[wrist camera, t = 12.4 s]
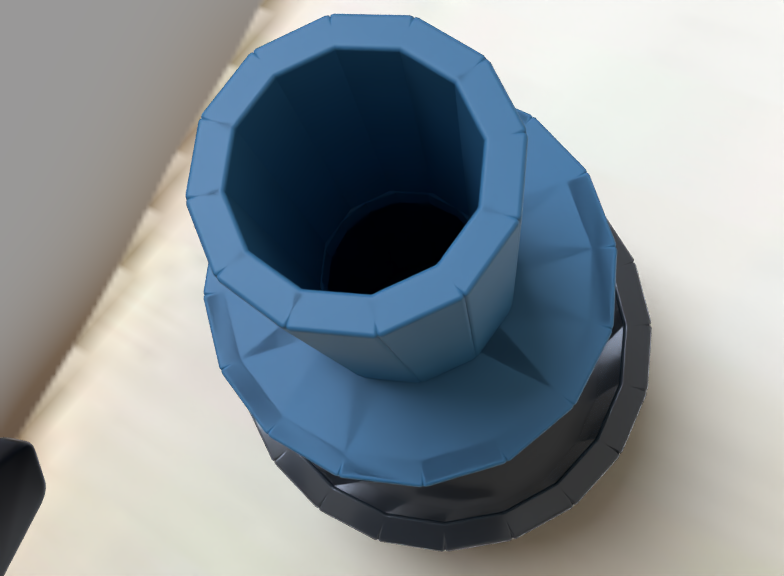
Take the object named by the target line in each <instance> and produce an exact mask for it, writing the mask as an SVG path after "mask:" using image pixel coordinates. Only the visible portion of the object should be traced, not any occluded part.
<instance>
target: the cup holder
mask: <svg viewBox="0 0 784 576" xmlns="http://www.w3.org/2000/svg"><path fill="white" fill-rule="evenodd" d="M606 219H607V218H606ZM607 221H608V220H607ZM608 224H609V227H610V229H611V232H612V234H613V237H614V240H615V242H616V249H617V263H616V284H615V305H614V326H613V328H612V329H611V330H612V333H611V335H610V337H609V339H608V341H607V343H606V345H605V347H604V349H603V351H602V353H601V355H600V357H599V359H598V361H597V363H596V365H595V367H594V369H593V371H592V373H591V375H590V377H589V379H588V381H587V383H586V385H585V387H584V389H583V391H582V393H581V395H580V397H579V399H578V401H577V403H576V404H575V405H574V406H573V408H572V409H571V410H570V411H569V412H568V413H567V414H565V415H564V416H563V417H562V418H561V419H559V420H558V421H557V422H556V423H555V424H553V425H552V426H551V427H550V428H549V429H547V430H546V431H545V432H544V433H543V434H541V435H540V436H539V437H538V438H537V439H535V440H534V441H533V442H532V443H531V444H529V445H528V446H527V447H526V448H525V449H523V450H522V451H521V452H520V453H519V454H517V455H516V456H515V457H514V458H513V459H511V460H510V461H506V463H504V464H502V465H498V466H495V467H492V468H488V469H485V470H481V471H478V472H475V473H471V474H468V475H465V476H461V477H458V478H455V479H451V480H448V481H444V482H441V483H438V484H434V485H431V486H428V487H426V486H422V487H414V486H405V485H397V484H389V483H380V482H372V481H364V480H355V479H347V478H341V477H340V476H335V475H333V474H332V473H330V472H328V471H326V470H325V469H323V468H321V467H320V466H318V465H316V464H315V463H313V462H311V461H309V460H308V459H306V458H304V457H303V456H301V455H299V454H298V453H296V452H294V451H292V450H291V449H289V448H287V447H286V446H284V445H282V444H281V443H279V442H277V441H275V440H274V439H272V438H270V437H269V435H268V434H266V433H265V432H264V431H263V429H262V428H261V427H260V425H259V424H258V422H257V421H256V420H255V418H254V417H253V415H252V414H251V413H250V414H251V416H252V418H253V420H254V423H255V425H256V427H257V429H258V431H259V433H260V435H261V437H262V440H263V442H264V444H265V446H266V448H267V450H268V452H269V455H270V457H271V459H272V460H273V461H275V464H276V465H277V467H278V468H279V469H280V470H281V471H282V472H283V473H284V474H285V475H286V476H287V477H288V478H289V479H290V480H291V481H292V482H293V483H294V485H295V486H296V487H297V488H298V489H299V490H300V491H301V492H302V493H303V494H304V495H305V496H306V497H307V498H308V499H309V500H310V501H311V503H312V504H313V505H314V506H315V507H317V508H319V510H320V511H322V512H324V513H325V514H327V515H329V516H331V517H333V518H335V519H337V520H339V521H340V522H342V523H344V524H346V525H348V526H350V527H352V528H354V529H355V530H357V531H359V532H361V533H363V534H365V535H367V536H369V537H370V538H372V539H374V540H379V541H380V542H386V543H392V544H398V545H404V546H410V547H416V548H423V549H429V550H435V551H441V552H442V551H445V550H446V551H454V550H460V549H466V548H472V547H478V546H483V545H489V544H495V543H501V542H507V541H511V540H512V538H513V539H517V538H519V537H521V536H522V535H524V534H526V533H528V532H530V531H531V530H533V529H535V528H537V527H539V526H541V525H542V524H544V523H546V522H548V521H550V520H551V519H553V518H555V517H557V516H559V515H560V514H562V513H564V512H566V511H568V510H570V509H571V508H572V507H573V505H576V504H578V502H579V501H580V500H581V499H582V498H583V497H584V496H585V495H586V494H587V492H588V491H589V490H590V489H591V488H592V487H593V486H594V485H595V484H596V482H597V481H598V480H599V479H600V478H601V477H602V476H603V475H604V474H605V472H606V471H607V470H608V469H609V468H610V467H611V466H612V465H613V464H614V462H615V461H616V460H617V459H618V458H619V454H621V453H622V452H623V449H624V447H625V445H626V442H627V440H628V437H629V435H630V433H631V430H632V428H633V425H634V423H635V421H636V418H637V416H638V414H639V411H640V409H641V406H642V404H643V402H644V399H645V397H646V392H645V391H647V389H648V378H649V363H650V348H651V332H652V328H651V326H650V324H651V320H650V316H649V312H648V308H647V305H646V301H645V297H644V294H643V290H642V286H641V283H640V279H639V275H638V271H637V268H636V264H635V263H633V262H634V259H633V257H632V256H631V254H630V253H629V251H628V250H627V248H626V247H625V245H624V244H623V242H622V241H621V239H620V238H619V236H618V235H617V233H616V232H615V230H614V229H613V227H612V226H611V224H610V223H609V221H608ZM249 412H250V411H249Z"/></svg>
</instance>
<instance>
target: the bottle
mask: <svg viewBox="0 0 784 576" xmlns="http://www.w3.org/2000/svg"><path fill="white" fill-rule="evenodd" d="M201 118H202V119H200V120H199V122H198V128H197V134H196V139H195V145H194V150H193V156H192V162H191V167H190V173H189V179H188V184H187V190H186V199H187V201H186V205H187V208H188V210H189V213H190V216H191V218H192V221H193V223H194V226H195V229H196V231H197V234H198V236H199V239H200V242H201V244H202V247H203V250H204V252H205V255H206V257H207V260H208V269H207V275H206V281H205V287H204V295H205V296H204V302H205V306H206V310H207V315H208V319H209V324H210V328H211V333H212V337H213V341H214V346H215V350H216V355H217V359H218V363H219V368H220V369H221V370H222V374H223V376H224V377H225V378H226V380H227V381H228V382H229V384H230V385H231V387H232V388H233V389H234V391H235V392H236V393H237V395H238V396H239V398H240V399H241V400H242V402H243V403H244V404H245V406H246V407H247V409H248V410H249V411H250V413H251V414H252V415H253V417H254V418H255V420H256V421H257V422H258V424H259V425H260V427H261V428H262V429H263V431H264V432H265V433H266V434H268V435H269V437H270V438H272V439H274V440H275V441H277V442H279V443H281V444H282V445H284V446H286V447H287V448H289V449H291V450H292V451H294V452H296V453H298V454H299V455H301V456H303V457H304V458H306V459H308V460H309V461H311V462H313V463H315V464H316V465H318V466H320V467H321V468H323V469H325V470H326V471H328V472H330V473H332V474H333V475H335V476H340V477H341V478H347V479H355V480H364V481H372V482H380V483H389V484H397V485H405V486H414V487H422V486H426V487H428V486H431V485H434V484H438V483H441V482H444V481H448V480H451V479H455V478H458V477H461V476H465V475H468V474H471V473H475V472H478V471H481V470H485V469H488V468H492V467H495V466H498V465H502V464H504V463H506V461H510V460H511V459H513V458H514V457H515V456H516V455H517V454H519V453H520V452H521V451H522V450H523V449H525V448H526V447H527V446H528V445H529V444H531V443H532V442H533V441H534V440H535V439H537V438H538V437H539V436H540V435H541V434H543V433H544V432H545V431H546V430H547V429H549V428H550V427H551V426H552V425H553V424H555V423H556V422H557V421H558V420H559V419H561V418H562V417H563V416H564V415H565V414H567V413H568V412H569V411H570V410H571V409H572V408H573V406H574V405H575V404H576V403H577V401H578V399H579V397H580V395H581V393H582V391H583V389H584V387H585V385H586V383H587V381H588V379H589V377H590V375H591V373H592V371H593V369H594V367H595V365H596V363H597V361H598V359H599V357H600V355H601V353H602V351H603V349H604V347H605V345H606V343H607V341H608V339H609V337H610V335H611V333H612V330H611V329H612V328H613V326H614V305H615V284H616V263H617V249H616V242H615V240H614V237H613V234H612V232H611V229H610V227H609V224H608V221H607V219H606V216H605V214H604V211H603V209H602V206H601V203H600V201H599V198H598V196H597V193H596V190H595V188H594V185H593V183H592V180H591V178H590V175H589V174H588V173H587V171H586V169H585V168H584V167H583V166H582V165H581V164H580V163H579V162H578V161H577V160H576V159H575V158H574V157H573V156H572V155H571V154H570V153H569V152H568V151H567V150H566V149H565V148H564V147H563V146H562V145H561V144H560V143H559V142H558V141H557V139H556V138H555V137H554V136H553V135H552V134H551V133H550V132H549V131H548V130H547V129H546V128H545V127H544V126H543V125H542V124H541V123H540V122H539V121H538V120H537V119H536V118H534V117H533V118H532V116H531V115H530V114H528V113H525V112H523V111H521V110H518V109H516V108H515V107H514V105H513V103H512V101H511V99H510V98H509V96H508V94H507V92H506V90H505V88H504V86H503V85H502V83H501V81H500V79H499V77H498V75H497V74H496V72H495V70H494V68H493V66H492V64H491V62H489V61H488V60H487V59H486V58H485V57H484V55H482V54H480V53H479V52H477V51H475V50H473V49H472V48H470V47H468V46H467V45H465V44H463V43H461V42H460V41H458V40H456V39H454V38H453V37H451V36H449V35H447V34H446V33H444V32H442V31H440V30H439V29H437V28H435V27H434V26H432V25H430V24H428V23H427V22H425V21H423V20H421V19H420V18H417V17H415V18H414V17H413V16H410V15H366V14H332V15H331V16H324V17H322V18H320V19H317V20H315V21H313V22H311V23H309V24H307V25H305V26H303V27H301V28H299V29H296V30H294V31H292V32H290V33H288V34H286V35H284V36H282V37H280V38H277V39H275V40H273V41H271V42H269V43H267V44H265V45H263V46H261V47H259V48H256V49H255V50H254V53H250V54H249V55H248V56H247V58H246V59H245V60H244V61H243V63H242V64H241V65H240V66H239V68H238V69H237V70H236V72H235V73H234V74H233V75H232V77H231V78H230V79H229V80H228V82H227V83H226V84H225V85H224V87H223V88H222V89H221V91H220V92H219V93H218V94H217V96H216V97H215V98H214V99H213V101H212V102H211V103H210V104H209V106H208V107H207V108H206V110H205V111H204V112H203V113H202V116H201Z"/></svg>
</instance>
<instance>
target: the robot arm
mask: <svg viewBox="0 0 784 576" xmlns="http://www.w3.org/2000/svg"><path fill="white" fill-rule="evenodd" d="M45 490H46V483H45V479H44V476H43V473H42V470H41V467H40V464H39V461H38V457H37V454H36V451H35V449H34V447H33V445H32V444H31V443H30V442H27V441H23V440H18V439H13V438H6V437H3V438H0V576H4V575H5V573H6V571H7V569H8V567H9V565H10V563H11V561H12V559H13V557H14V555H15V553H16V551H17V549H18V548H19V546H20V544H21V542H22V540H23V538H24V536H25V534H26V532H27V530H28V528H29V526H30V524H31V523H32V521H33V519H34V517H35V515H36V513H37V511H38V509H39V507H40V505H41V503H42V501H43V498H44V495H45Z"/></svg>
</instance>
